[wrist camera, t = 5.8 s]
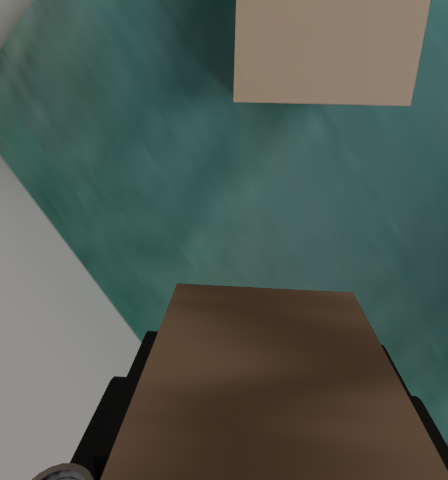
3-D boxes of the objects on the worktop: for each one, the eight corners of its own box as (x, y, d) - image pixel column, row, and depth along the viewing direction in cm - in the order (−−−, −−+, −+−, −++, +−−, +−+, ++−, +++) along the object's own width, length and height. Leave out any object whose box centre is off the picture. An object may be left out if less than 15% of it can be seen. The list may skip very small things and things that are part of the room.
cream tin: (386, -53, 24) (454, -122, 16) (363, 104, 27) (410, 106, 20) (239, -54, 24) (239, -123, 16) (235, 101, 27) (233, 102, 20)
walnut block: (352, 292, 10) (525, 617, 4) (330, 426, 12) (422, 802, 6) (177, 283, 11) (62, 575, 4) (180, 415, 12) (104, 764, 6)
